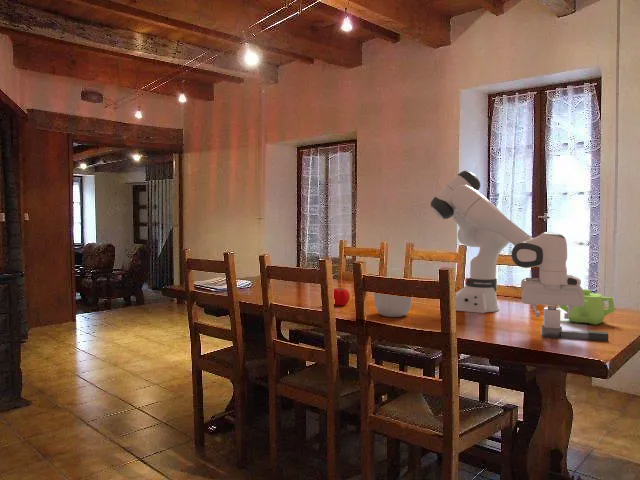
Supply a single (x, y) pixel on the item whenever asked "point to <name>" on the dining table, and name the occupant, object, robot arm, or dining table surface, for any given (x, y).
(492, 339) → the dining table surface
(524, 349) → the dining table surface
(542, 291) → the robot arm
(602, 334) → the ratchet
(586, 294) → the teapot
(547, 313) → the cube with grey knob
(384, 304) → the white rounded bowl
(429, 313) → the dining table surface
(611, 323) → the dining table surface
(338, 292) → the tomato
